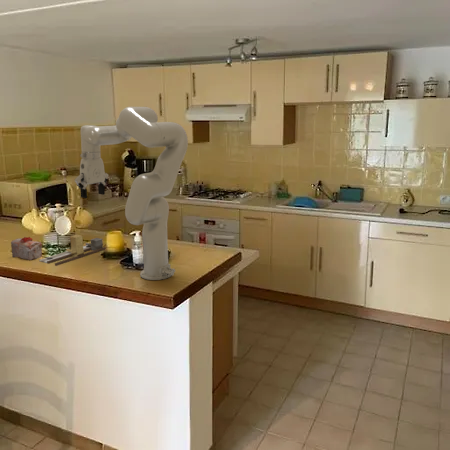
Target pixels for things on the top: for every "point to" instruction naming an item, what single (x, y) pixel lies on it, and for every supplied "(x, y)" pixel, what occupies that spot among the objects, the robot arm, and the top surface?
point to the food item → (26, 248)
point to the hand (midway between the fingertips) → (93, 196)
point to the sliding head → (76, 245)
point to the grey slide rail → (95, 246)
